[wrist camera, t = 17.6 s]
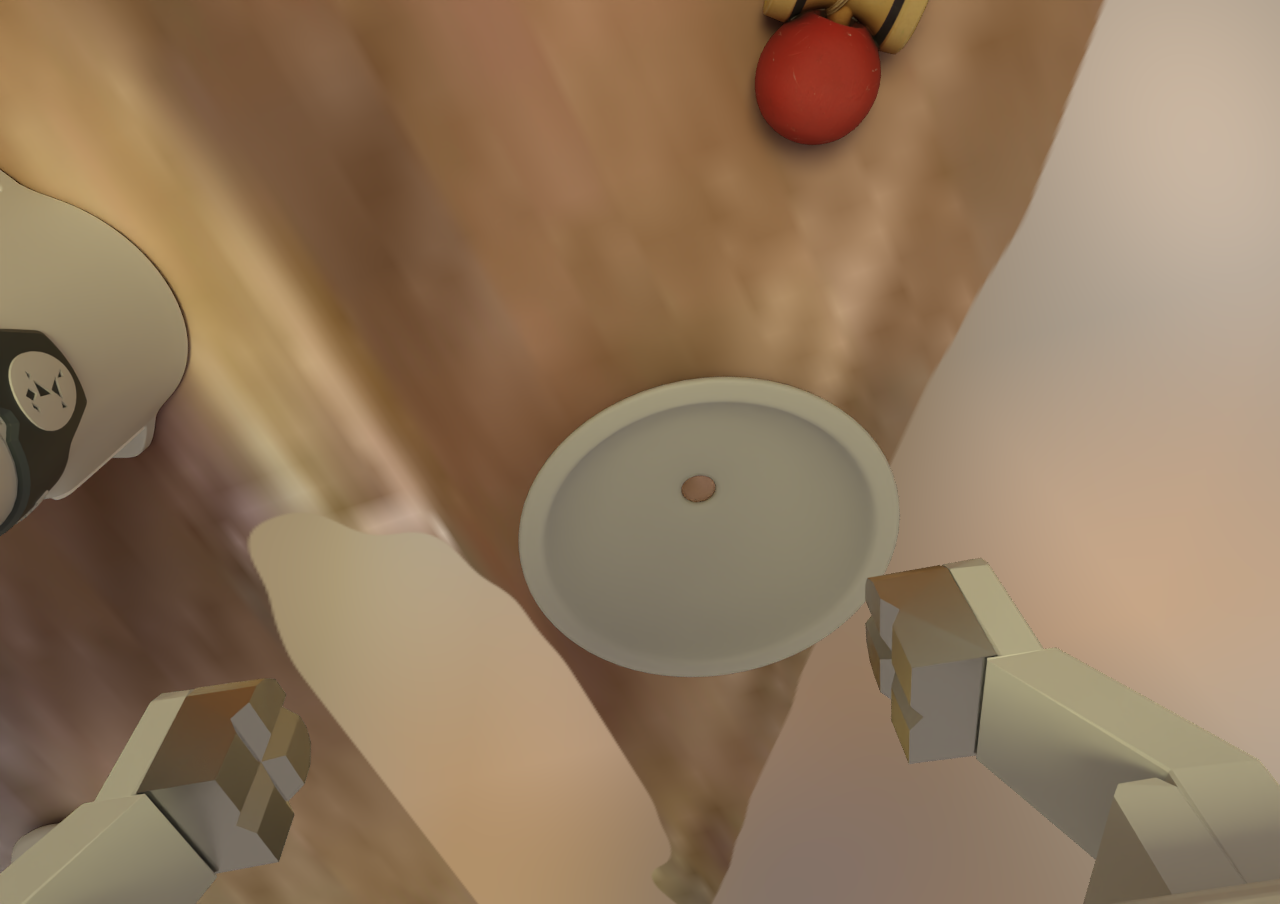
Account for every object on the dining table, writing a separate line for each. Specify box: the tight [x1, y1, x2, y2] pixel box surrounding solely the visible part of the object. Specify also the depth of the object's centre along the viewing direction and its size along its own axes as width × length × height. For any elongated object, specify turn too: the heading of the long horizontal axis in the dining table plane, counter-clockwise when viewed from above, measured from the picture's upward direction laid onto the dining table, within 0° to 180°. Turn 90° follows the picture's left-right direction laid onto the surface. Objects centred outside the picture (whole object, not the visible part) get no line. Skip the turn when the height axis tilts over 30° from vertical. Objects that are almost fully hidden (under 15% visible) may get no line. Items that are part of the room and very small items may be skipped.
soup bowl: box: [519, 376, 900, 677], centre depth 53 cm, size 24×24×7 cm
